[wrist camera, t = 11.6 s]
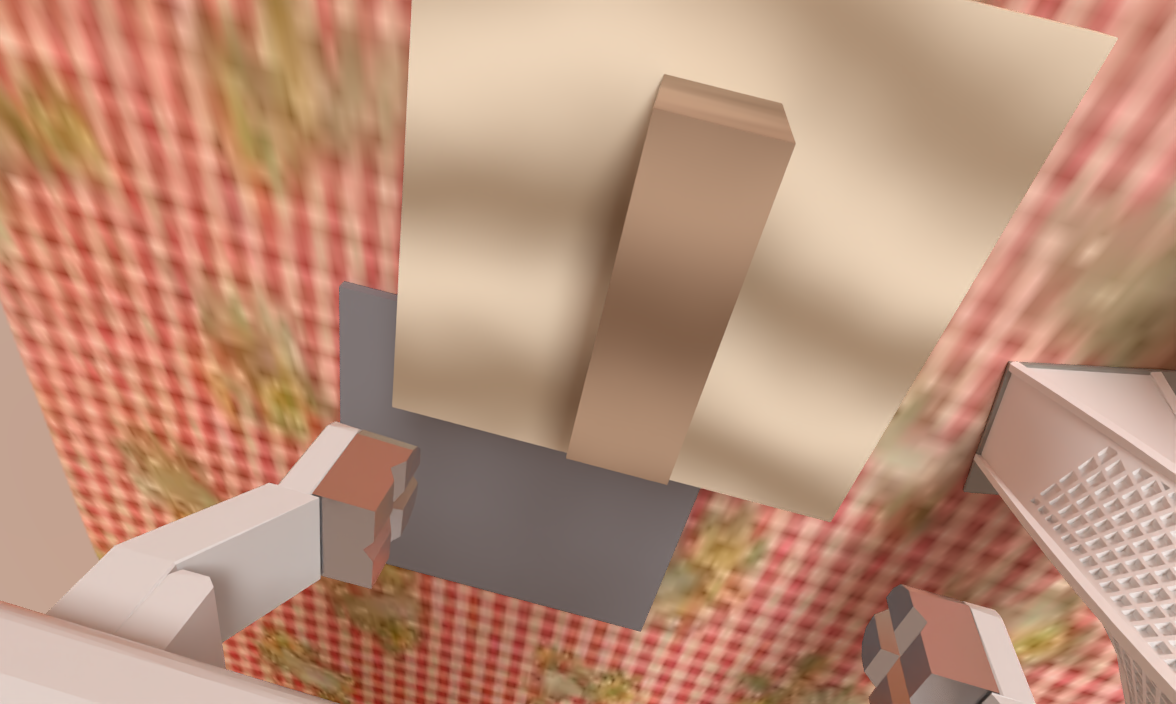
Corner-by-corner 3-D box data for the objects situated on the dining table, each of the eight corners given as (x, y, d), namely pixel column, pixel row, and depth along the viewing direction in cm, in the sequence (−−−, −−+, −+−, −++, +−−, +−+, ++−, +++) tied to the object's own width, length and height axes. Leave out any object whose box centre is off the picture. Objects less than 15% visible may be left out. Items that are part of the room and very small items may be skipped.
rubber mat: (641, 624, 40) (640, 631, 39) (345, 545, 40) (341, 551, 40) (740, 383, 30) (740, 390, 29) (344, 281, 30) (339, 286, 30)
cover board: (826, 501, 25) (845, 606, 21) (402, 390, 25) (347, 474, 21) (1097, 31, 16) (1214, 68, 12) (433, -133, 16) (348, -145, 12)
